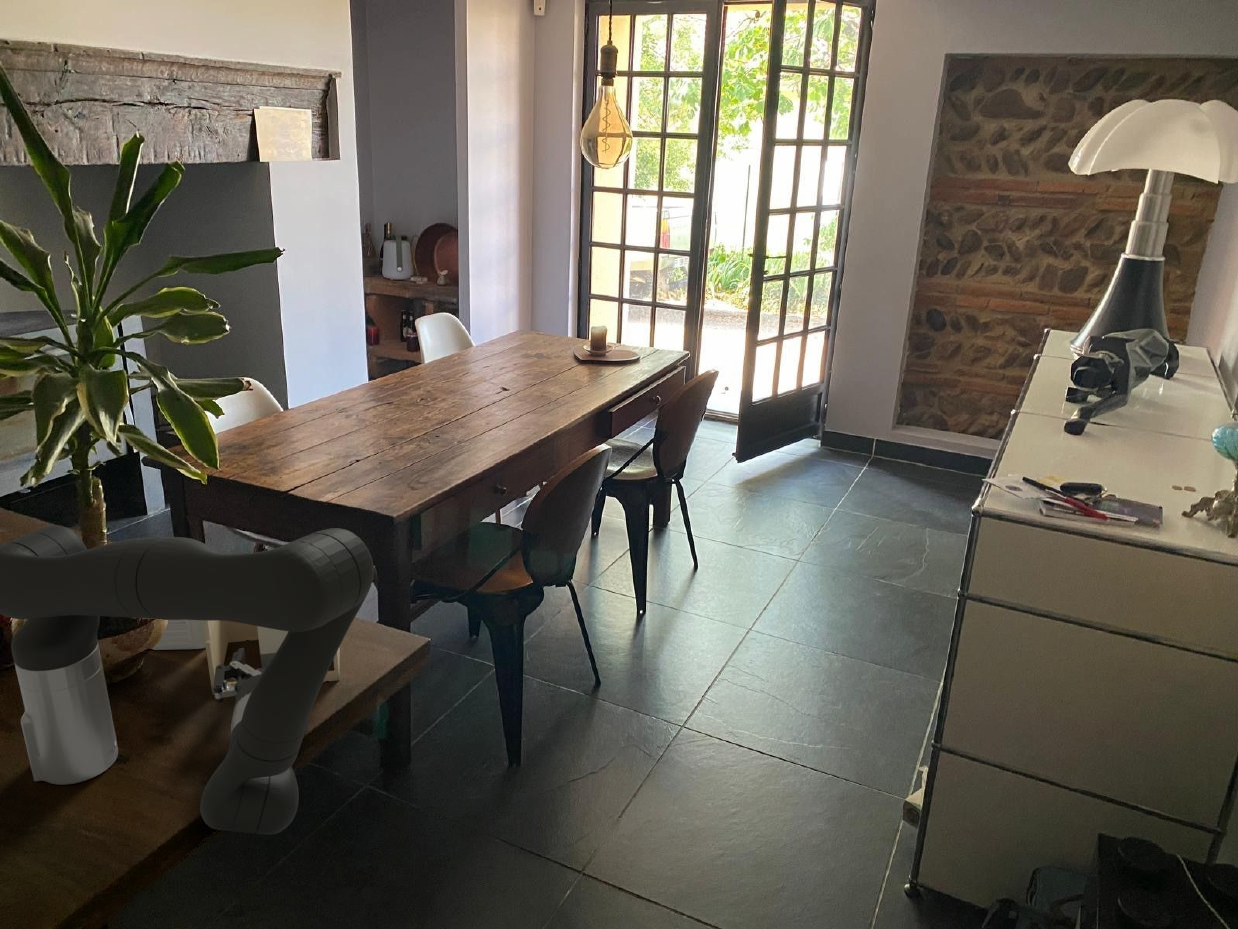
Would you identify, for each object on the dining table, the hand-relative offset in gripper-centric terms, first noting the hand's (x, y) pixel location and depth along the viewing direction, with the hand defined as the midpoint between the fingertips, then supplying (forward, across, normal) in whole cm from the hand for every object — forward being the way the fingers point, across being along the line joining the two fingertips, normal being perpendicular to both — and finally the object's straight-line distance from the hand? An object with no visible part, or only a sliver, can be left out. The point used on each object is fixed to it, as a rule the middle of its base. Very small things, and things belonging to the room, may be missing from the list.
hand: (272, 650), depth 137 cm
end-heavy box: (+8, 0, +7) cm, 11 cm away
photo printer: (+16, +16, +7) cm, 24 cm away
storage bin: (+8, 0, +7) cm, 11 cm away
